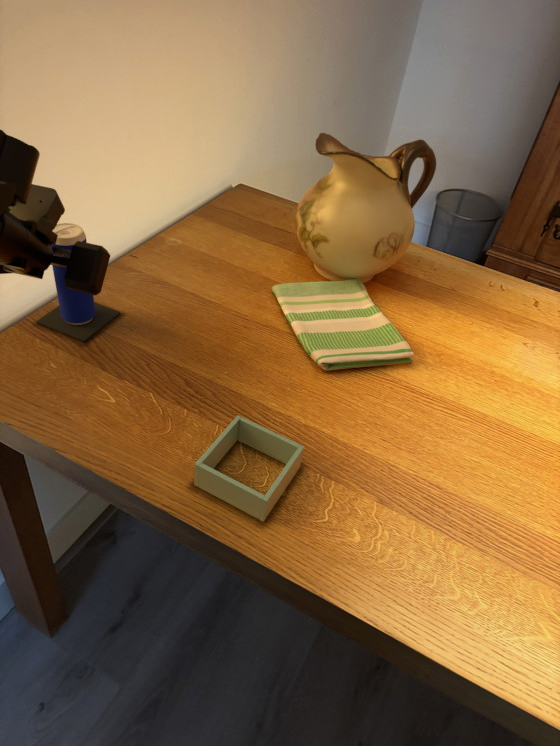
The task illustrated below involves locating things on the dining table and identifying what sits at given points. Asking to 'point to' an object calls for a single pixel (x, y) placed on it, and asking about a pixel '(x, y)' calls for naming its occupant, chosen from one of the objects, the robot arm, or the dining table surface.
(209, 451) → the tray
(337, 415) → the dining table surface
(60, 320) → the mat
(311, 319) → the dish towel
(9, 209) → the robot arm
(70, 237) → the beverage can
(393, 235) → the pitcher
